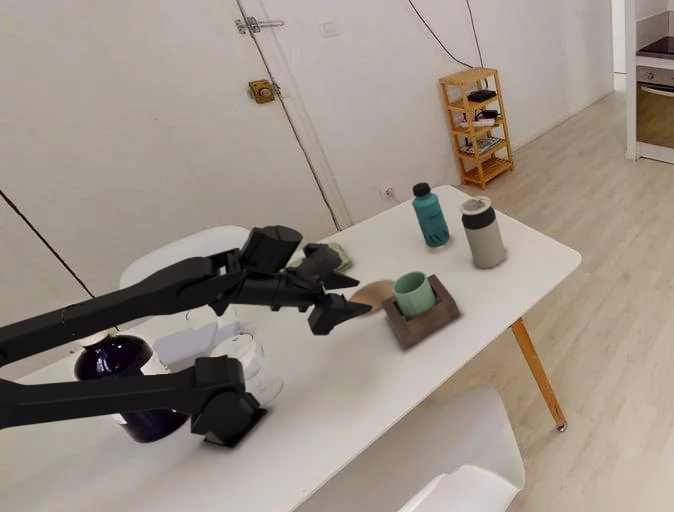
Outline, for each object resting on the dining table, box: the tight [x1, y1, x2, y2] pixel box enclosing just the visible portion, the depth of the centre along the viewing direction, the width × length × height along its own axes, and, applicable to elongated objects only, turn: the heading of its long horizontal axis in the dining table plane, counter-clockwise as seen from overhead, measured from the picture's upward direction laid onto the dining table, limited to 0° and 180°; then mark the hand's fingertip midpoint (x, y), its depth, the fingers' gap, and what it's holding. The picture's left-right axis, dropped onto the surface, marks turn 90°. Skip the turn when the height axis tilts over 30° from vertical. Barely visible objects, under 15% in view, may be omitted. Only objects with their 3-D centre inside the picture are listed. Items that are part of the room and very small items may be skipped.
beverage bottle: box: [411, 181, 451, 249], centre depth 111 cm, size 6×7×20 cm
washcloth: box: [280, 242, 353, 273], centre depth 106 cm, size 13×18×3 cm
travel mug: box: [459, 195, 506, 269], centre depth 106 cm, size 8×8×18 cm
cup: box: [392, 270, 438, 323], centre depth 91 cm, size 7×7×11 cm
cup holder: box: [381, 273, 461, 350], centre depth 93 cm, size 12×12×5 cm
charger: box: [151, 320, 251, 373], centre depth 87 cm, size 5×9×15 cm
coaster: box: [349, 280, 394, 316], centre depth 99 cm, size 10×10×1 cm
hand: (365, 295), depth 83 cm, fingers open, 9 cm apart
